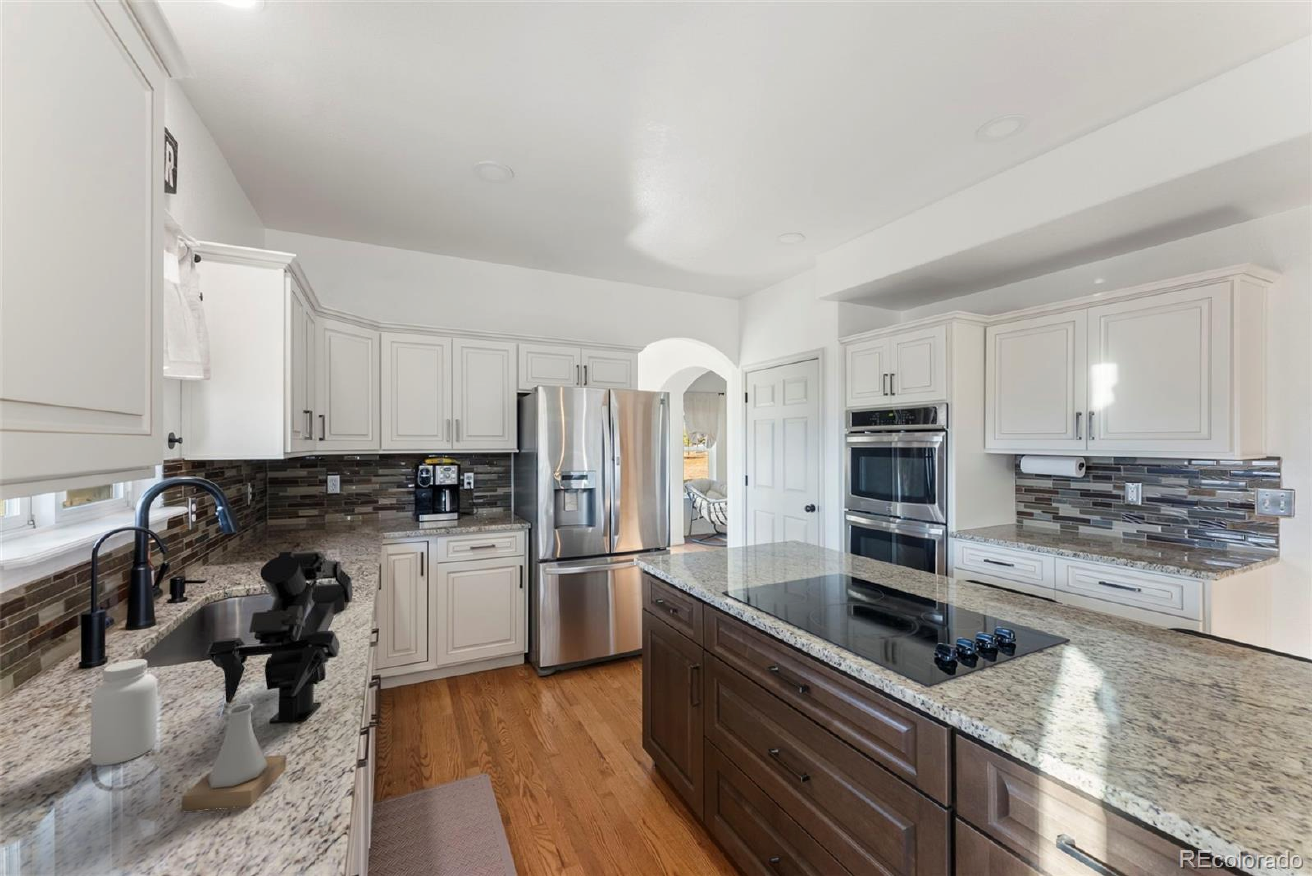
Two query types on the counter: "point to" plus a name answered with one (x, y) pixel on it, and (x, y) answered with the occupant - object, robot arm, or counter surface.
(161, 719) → the counter surface
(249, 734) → the flask
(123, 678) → the pill bottle
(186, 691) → the counter surface
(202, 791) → the square wooden block
